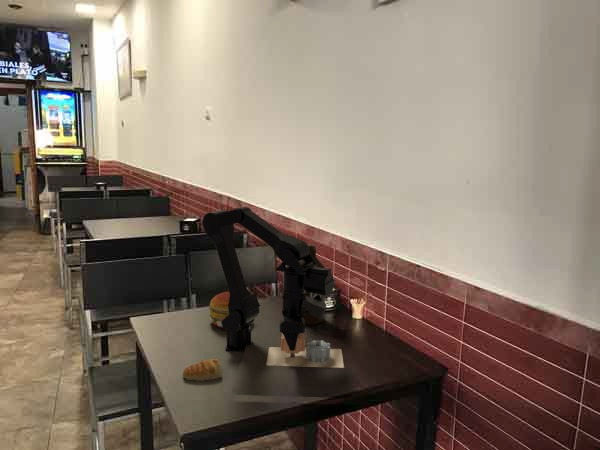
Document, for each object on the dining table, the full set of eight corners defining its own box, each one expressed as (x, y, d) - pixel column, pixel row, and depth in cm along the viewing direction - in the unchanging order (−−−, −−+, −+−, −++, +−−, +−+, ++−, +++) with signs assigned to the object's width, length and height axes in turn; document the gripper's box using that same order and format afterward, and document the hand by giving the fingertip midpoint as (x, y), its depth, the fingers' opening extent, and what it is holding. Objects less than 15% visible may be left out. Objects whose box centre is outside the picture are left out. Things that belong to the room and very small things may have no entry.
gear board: (266, 369, 128) (266, 348, 127) (269, 351, 139) (269, 331, 138) (343, 372, 128) (344, 351, 127) (341, 353, 139) (341, 334, 138)
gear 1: (280, 353, 130) (280, 340, 129) (281, 343, 136) (281, 331, 135) (304, 354, 130) (305, 341, 129) (304, 343, 136) (305, 331, 135)
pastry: (185, 385, 120) (185, 371, 119) (180, 373, 126) (180, 359, 125) (223, 379, 123) (223, 364, 123) (217, 367, 129) (217, 353, 129)
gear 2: (305, 362, 130) (306, 346, 129) (306, 351, 136) (306, 336, 135) (330, 363, 130) (330, 346, 129) (329, 352, 136) (329, 337, 135)
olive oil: (285, 318, 163) (287, 244, 158) (308, 311, 170) (310, 240, 166) (308, 328, 155) (311, 250, 151) (331, 320, 163) (334, 245, 158)
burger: (253, 316, 165) (253, 287, 163) (249, 332, 152) (249, 301, 150) (212, 315, 165) (212, 286, 163) (205, 331, 151) (204, 300, 150)
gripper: (326, 301, 120) (323, 361, 123) (323, 279, 139) (321, 332, 142) (280, 300, 120) (279, 360, 123) (283, 278, 139) (282, 330, 142)
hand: (292, 344), depth 133 cm, fingers closed on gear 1, 6 cm apart
